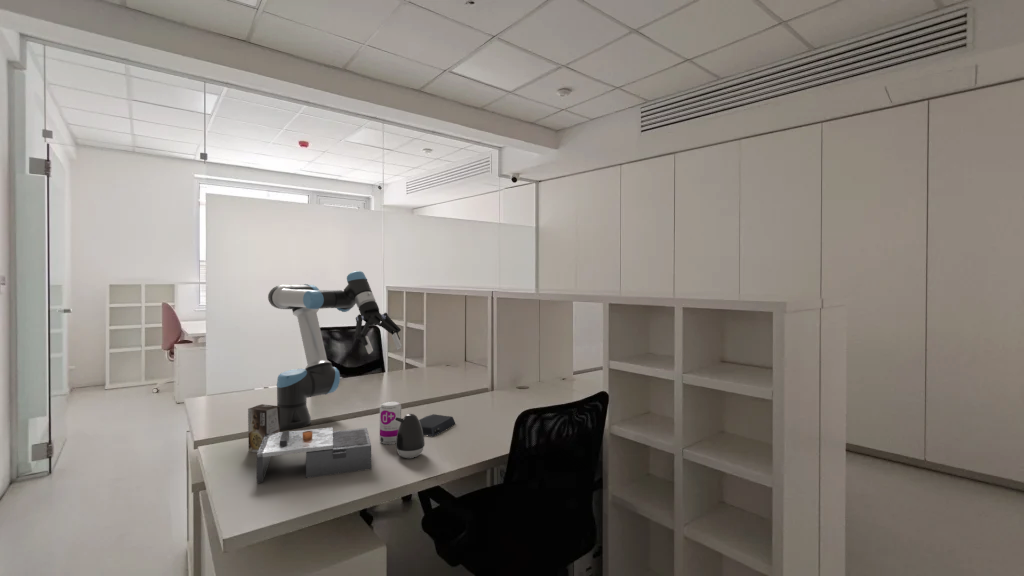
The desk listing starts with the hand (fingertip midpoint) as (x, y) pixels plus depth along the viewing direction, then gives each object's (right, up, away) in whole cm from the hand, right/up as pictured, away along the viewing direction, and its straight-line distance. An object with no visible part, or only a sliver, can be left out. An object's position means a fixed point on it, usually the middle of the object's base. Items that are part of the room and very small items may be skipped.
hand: (385, 350), depth 184 cm
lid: (-22, -35, -27) cm, 50 cm away
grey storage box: (-10, -36, -22) cm, 44 cm away
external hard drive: (+16, -36, +16) cm, 43 cm away
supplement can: (+2, -36, -1) cm, 36 cm away
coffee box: (-42, -36, -12) cm, 56 cm away
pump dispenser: (+13, -36, -16) cm, 42 cm away
